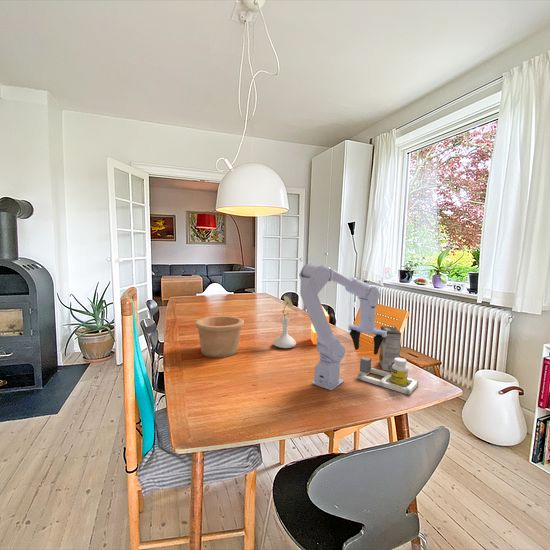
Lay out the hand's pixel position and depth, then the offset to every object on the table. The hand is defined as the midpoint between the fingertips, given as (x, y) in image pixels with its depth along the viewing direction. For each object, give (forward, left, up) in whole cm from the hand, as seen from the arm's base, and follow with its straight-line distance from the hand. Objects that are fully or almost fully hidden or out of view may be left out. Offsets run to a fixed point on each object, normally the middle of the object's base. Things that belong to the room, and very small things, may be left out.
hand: (366, 351), depth 117 cm
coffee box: (+15, -4, -10) cm, 18 cm away
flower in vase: (+6, +44, -10) cm, 46 cm away
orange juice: (+24, +35, -10) cm, 44 cm away
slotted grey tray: (0, -8, -9) cm, 12 cm away
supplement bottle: (0, -13, -10) cm, 16 cm away
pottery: (-21, +61, -10) cm, 65 cm away
